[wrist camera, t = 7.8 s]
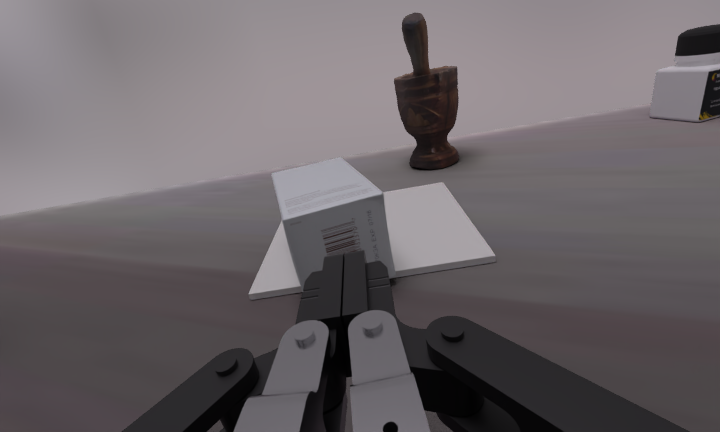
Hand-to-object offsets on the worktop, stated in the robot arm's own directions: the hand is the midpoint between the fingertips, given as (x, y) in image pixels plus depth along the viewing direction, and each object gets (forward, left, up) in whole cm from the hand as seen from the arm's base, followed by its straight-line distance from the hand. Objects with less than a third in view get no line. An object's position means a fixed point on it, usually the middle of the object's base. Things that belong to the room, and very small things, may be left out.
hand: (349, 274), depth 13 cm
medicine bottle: (+50, +43, -9) cm, 66 cm away
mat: (0, +22, -9) cm, 23 cm away
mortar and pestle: (+11, +40, -9) cm, 42 cm away
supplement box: (-1, +10, -5) cm, 12 cm away
